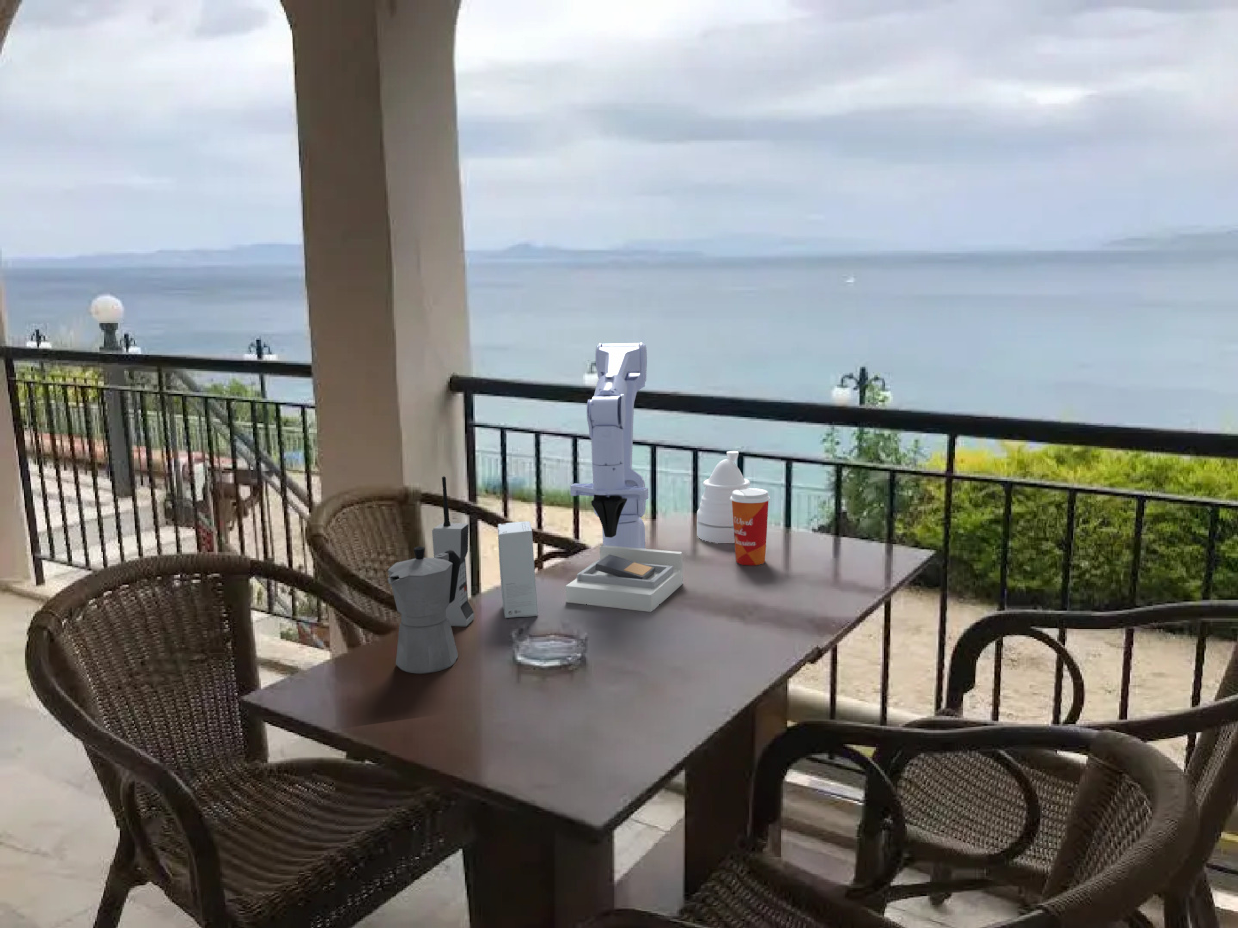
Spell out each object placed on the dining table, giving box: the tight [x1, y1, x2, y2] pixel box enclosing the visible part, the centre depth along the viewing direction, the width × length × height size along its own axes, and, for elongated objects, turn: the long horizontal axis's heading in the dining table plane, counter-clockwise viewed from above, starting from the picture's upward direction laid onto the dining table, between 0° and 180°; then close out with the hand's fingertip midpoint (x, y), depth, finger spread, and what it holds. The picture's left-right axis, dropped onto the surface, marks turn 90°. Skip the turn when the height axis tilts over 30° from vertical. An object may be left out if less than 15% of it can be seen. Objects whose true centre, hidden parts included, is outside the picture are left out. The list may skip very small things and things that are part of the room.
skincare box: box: [497, 520, 539, 619], centre depth 172 cm, size 8×6×15 cm
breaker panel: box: [565, 544, 684, 613], centre depth 180 cm, size 16×16×6 cm
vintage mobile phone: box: [431, 475, 475, 628], centre depth 165 cm, size 4×5×25 cm
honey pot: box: [696, 450, 751, 544], centre depth 214 cm, size 13×13×18 cm
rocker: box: [595, 554, 655, 580], centre depth 179 cm, size 6×9×1 cm, turn 67°
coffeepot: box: [387, 545, 460, 674], centre depth 150 cm, size 15×9×18 cm, turn 150°
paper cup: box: [730, 487, 771, 566], centre depth 195 cm, size 8×8×14 cm
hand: (610, 536), depth 183 cm, fingers closed
